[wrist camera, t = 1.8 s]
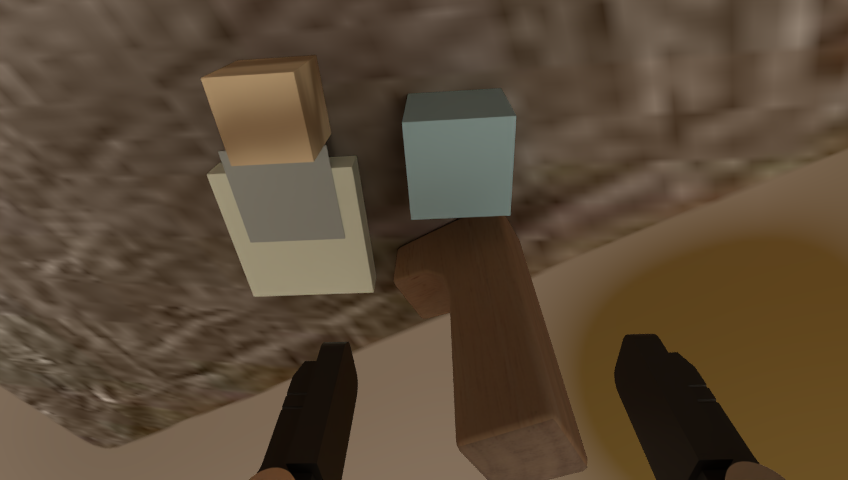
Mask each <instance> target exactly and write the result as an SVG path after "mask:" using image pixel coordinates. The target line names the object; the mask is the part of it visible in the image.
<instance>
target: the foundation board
mask: <svg viewBox="0 0 848 480" xmlns="http://www.w3.org/2000/svg"><path fill="white" fill-rule="evenodd" d="M218 153H219V156H220V159H221V162H222V163H219V164H218V165H216V166H215V167H214V168H213V169H212V170H211V171H210V172H209V173H208V174H207V177H208V180H209V182H210V185H211V187H212V190H213V192H214V195H215V198H216V200H217V203H218V205H219V208H220V211H221V213H222V216H223V218H224V221H225V223H226V226H227V229H228V231H229V234H230V236H231V239H232V241H233V244H234V247H235V249H236V252H237V254H238V257H239V259H240V262H241V265H242V267H243V270H244V272H245V275H246V278H247V280H248V283H249V285H250V288H251V290H252V293H253V296H254V297H258V296H286V295H315V294H343V293H372V292H374V288H375V282H376V271H375V265H374V259H373V253H372V247H371V240H370V234H369V228H368V222H367V216H366V210H365V204H364V198H363V192H362V185H361V179H360V173H359V167H358V161H357V156H338V157H329V155H328V150H327V145H324V146H323V148H322V150H321V151H320V153H319V154H318V156H317V158H316V159H315V161H314V162H303V163H283V164H264V165H245V166H231V164H230V161H229V158H228V155H227V153H226V151H218Z"/></svg>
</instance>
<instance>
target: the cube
mask: <svg viewBox="0 0 848 480" xmlns="http://www.w3.org/2000/svg"><path fill="white" fill-rule="evenodd" d="M402 128H403V139H404V150H405V160H406V171H407V181H408V192H409V202H410V213H411V220H419V219H442V218H464V217H487V216H510V214H511V197H512V180H513V164H514V147H515V130H516V114H515V113H514V111H513V109H512V107H511V105H510V103H509V102H508V100H507V98H506V96H505V94H504V93H503V91H502V89H501V88H496V89H479V90H463V91H447V92H430V93H414V94H408V97H407V101H406V106H405V111H404V115H403V120H402Z"/></svg>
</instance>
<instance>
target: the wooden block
mask: <svg viewBox="0 0 848 480" xmlns="http://www.w3.org/2000/svg"><path fill="white" fill-rule="evenodd" d="M394 283H395V285H396V287H397V288H398V289H399V290H400V292H401V293H402V294H403V295H404V297H405V298H406V299H407V300H408V302H409V303H410V304H411V305H412V307H413V308H414V309H415V310H416V312H417V313H418V314H419V315H420V317H421V318H423V319H427V318H431V317H435V316H439V315H442V314H446V313H450V316H451V338H452V360H453V382H454V403H455V426H456V442H457V446H458V448H459V450H460V452H461V453H463V455H464V456H465V457H466V458H467V459H468V460H469V461H470V462H471V463H472V464H473V465H474V466H475V467H476V468H477V469H478V470H479V471H480V472H481V473H482V474H483V475H484V476H485V477H486V479H487V480H549V479H552V478H557V477H561V476H564V475H569V474H573V473H577V472H581V471H583V470H585V469H586V468H587V456H586V453H585V450H584V446H583V443H582V440H581V437H580V433H579V430H578V427H577V424H576V421H575V417H574V414H573V411H572V408H571V405H570V402H569V398H568V395H567V392H566V389H565V385H564V383H563V379H562V376H561V373H560V369H559V366H558V363H557V360H556V357H555V353H554V350H553V347H552V344H551V340H550V337H549V334H548V331H547V328H546V325H545V321H544V318H543V315H542V312H541V308H540V305H539V302H538V299H537V296H536V292H535V289H534V286H533V283H532V279H531V276H530V273H529V270H528V267H527V263H526V260H525V257H524V254H523V250H522V247H521V244H520V241H519V239H518V237H517V235H516V233H515V232H514V230H513V228H512V226H511V224H510V223H509V221H508V219H507V217H506V216H487V217H464V218H460V219H458V220H456V221H454V222H452V223H450V224H448V225H446V226H444V227H442V228H440V229H437V230H435V231H433V232H431V233H429V234H427V235H425V236H423V237H421V238H419V239H417V240H415V241H413V242H410V243H408V244H406V245H404V246H402V247H400V248H399V249H398V251H397V258H396V265H395V273H394Z"/></svg>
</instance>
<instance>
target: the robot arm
mask: <svg viewBox="0 0 848 480" xmlns="http://www.w3.org/2000/svg"><path fill="white" fill-rule="evenodd" d="M614 376H615V384H616V388H617V391H618V393H619V396H620V398H621V400H622V402H623V405H624V407H625V409H626V411H627V414H628V416H629V418H630V421H631V423H632V425H633V428H634V430H635V432H636V434H637V437H638V439H639V441H640V444H641V446H642V448H643V450H644V453H645V455H646V457H647V459H648V462H649V464H650V466H651V469H652V471H653V473H654V476H655V478H656V480H785V479H784V478H783V477H782V476H781V475H779V474H778V473H776V472H775V471H773V470H771V469H769V468H767V467H765V466H763V465H760V464H759V462H758V461H757V460H756V459H755V457H754V456H753V454H752V453H751V451H750V450H749V448H748V447H747V445H746V444H745V442H744V441H743V439H742V438H741V436H740V435H739V433H738V432H737V430H736V429H735V427H734V426H733V424H732V423H731V421H730V420H729V418H728V416H727V415H726V414H725V412H724V411H723V409H722V407H721V406H720V404H719V403H717V402H716V398H715V397H714V395H713V394H712V392H711V391H710V389H709V388H707V387H706V383H705V382H704V380H703V379H702V377H701V376H700V374H699V373H698V371H697V369H696V368H695V367H694V366H693V365H692V364H690V363H689V362H688V361H687V360H686V359H685V358H683V357H682V356H681V355H680V354H679V353H678V352H677V353H676V352H674V353H668V351H667V350H666V348H665V346H664V345H663V343H662V342H661V340H660V339H659V337H658V336H657V335H655V334H631V335H625V337H624V339H623V342H622V346H621V349H620V352H619V356H618V359H617V363H616V367H615V372H614ZM357 387H358V380H357V373H356V368H355V364H354V360H353V355H352V351H351V347H350V344H349V342H325V343H323V344H322V345H321V348H320V351H319V355H318V358H317V361H305V362H304V363H303V364H302V366H301V367H300V368H299V369H298V371H297V372H296V373H295V374H294V376H293V377H292V380H291V383H290V386H289V389H288V392H287V396H286V398H285V400H284V403H283V406H282V410H281V412H280V415H279V418H278V420H277V423H276V426H275V429H274V432H273V435H272V438H271V441H270V443H269V446H268V449H267V452H266V455H265V458H264V461H263V463H262V465H261V467H260V469H259V471H258V472H257V474H256V475H254V476H253V477H251V478H250V479H249V480H341V479H342V474H343V468H344V463H345V458H346V452H347V447H348V441H349V436H350V430H351V425H352V420H353V414H354V408H355V403H356V397H357V389H358V388H357Z"/></svg>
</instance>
